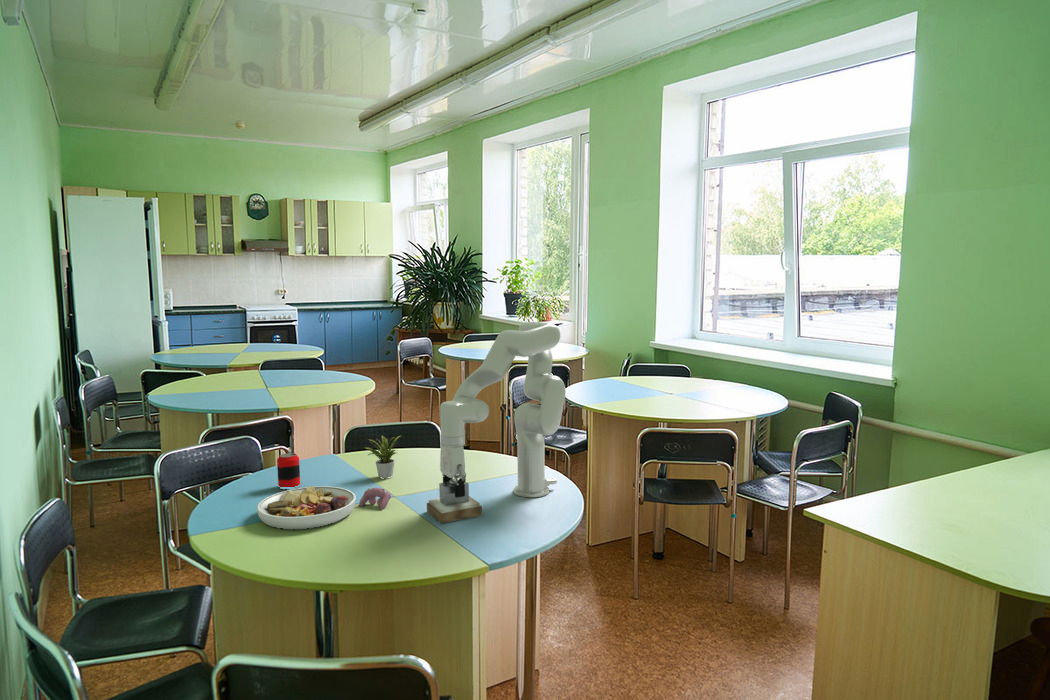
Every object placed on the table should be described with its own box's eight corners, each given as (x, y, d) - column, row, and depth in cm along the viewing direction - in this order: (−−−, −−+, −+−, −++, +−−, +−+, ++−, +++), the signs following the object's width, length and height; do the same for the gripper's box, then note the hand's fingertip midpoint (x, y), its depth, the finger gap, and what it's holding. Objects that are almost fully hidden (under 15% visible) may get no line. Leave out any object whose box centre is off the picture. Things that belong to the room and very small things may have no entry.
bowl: (236, 526, 205) (234, 501, 204) (300, 496, 233) (299, 474, 232) (317, 538, 195) (316, 512, 194) (374, 505, 223) (373, 483, 222)
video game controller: (389, 511, 221) (394, 490, 223) (381, 509, 217) (387, 488, 219) (364, 507, 225) (369, 487, 227) (357, 505, 221) (362, 484, 223)
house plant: (388, 468, 265) (387, 428, 263) (413, 474, 257) (412, 433, 255) (360, 477, 253) (358, 435, 252) (385, 484, 245) (384, 440, 243)
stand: (466, 504, 222) (466, 492, 222) (481, 515, 212) (481, 503, 211) (426, 511, 216) (426, 499, 215) (441, 523, 205) (440, 511, 205)
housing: (439, 501, 214) (439, 480, 213) (462, 497, 217) (462, 476, 217) (445, 506, 209) (445, 484, 208) (468, 501, 213) (468, 480, 212)
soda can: (302, 488, 241) (301, 455, 240) (281, 491, 237) (279, 459, 236) (297, 482, 248) (295, 451, 246) (276, 486, 243) (274, 454, 242)
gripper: (431, 436, 217) (432, 487, 219) (452, 447, 202) (453, 502, 204) (452, 433, 220) (453, 483, 222) (475, 444, 205) (475, 498, 207)
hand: (453, 492), depth 213 cm, fingers open, 9 cm apart
